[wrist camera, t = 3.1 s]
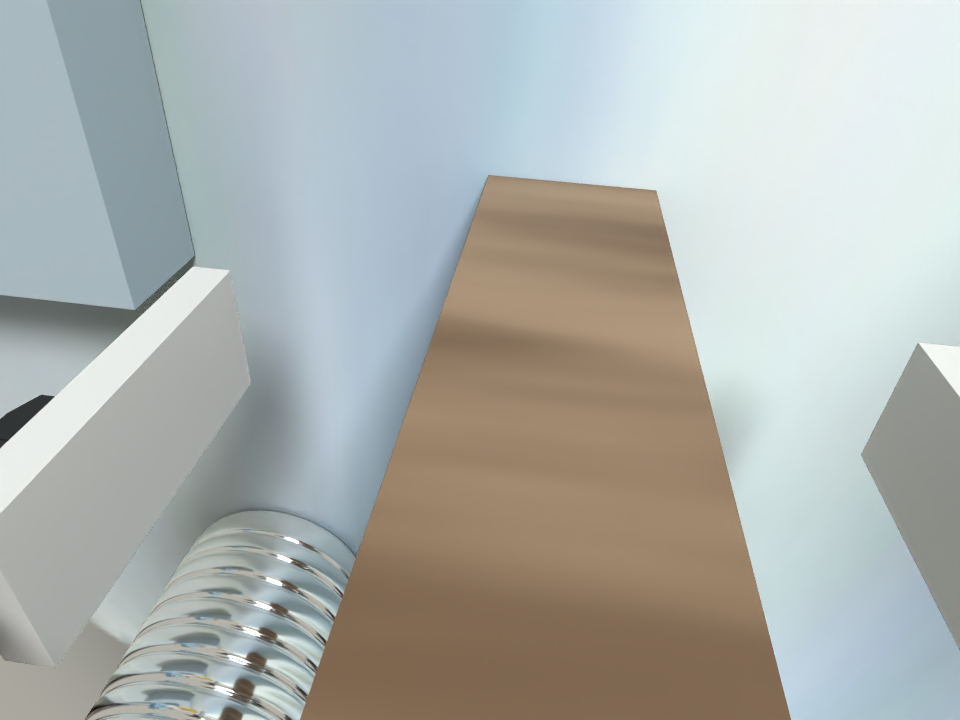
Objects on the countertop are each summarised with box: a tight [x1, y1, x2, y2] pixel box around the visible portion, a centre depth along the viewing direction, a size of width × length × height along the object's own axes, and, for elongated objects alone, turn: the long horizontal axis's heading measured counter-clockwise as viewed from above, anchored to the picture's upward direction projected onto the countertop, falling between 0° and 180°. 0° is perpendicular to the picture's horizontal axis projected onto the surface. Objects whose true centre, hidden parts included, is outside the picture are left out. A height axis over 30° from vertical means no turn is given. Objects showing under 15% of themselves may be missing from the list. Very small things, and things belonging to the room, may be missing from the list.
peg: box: [300, 175, 791, 720], centre depth 11 cm, size 4×4×14 cm
